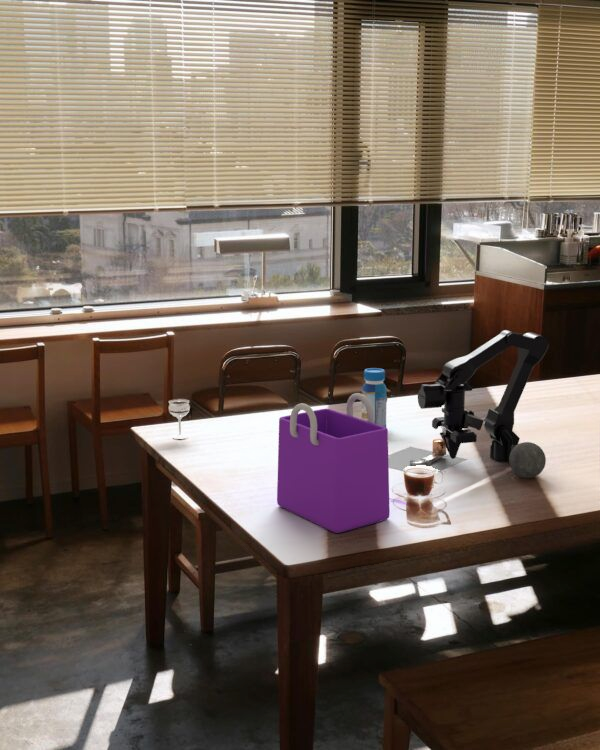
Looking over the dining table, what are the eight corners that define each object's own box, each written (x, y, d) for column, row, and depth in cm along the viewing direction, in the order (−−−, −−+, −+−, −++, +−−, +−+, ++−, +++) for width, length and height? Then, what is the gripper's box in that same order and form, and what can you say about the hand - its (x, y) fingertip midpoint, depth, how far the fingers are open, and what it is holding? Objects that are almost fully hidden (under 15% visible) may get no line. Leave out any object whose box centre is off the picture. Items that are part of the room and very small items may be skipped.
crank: (423, 469, 290) (423, 452, 289) (405, 465, 294) (405, 448, 293) (451, 457, 301) (452, 441, 300) (434, 453, 305) (434, 437, 304)
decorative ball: (518, 484, 281) (520, 449, 279) (502, 473, 290) (503, 439, 288) (551, 481, 283) (553, 446, 281) (534, 470, 293) (535, 436, 291)
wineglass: (192, 435, 330) (191, 399, 327) (188, 441, 323) (187, 404, 321) (172, 434, 331) (170, 398, 328) (167, 440, 324) (166, 403, 321)
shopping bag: (402, 514, 258) (404, 399, 252) (347, 539, 243) (347, 416, 236) (319, 490, 277) (318, 382, 270) (262, 511, 261) (260, 397, 255)
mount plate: (466, 462, 300) (466, 458, 300) (426, 480, 285) (426, 476, 284) (410, 449, 313) (410, 446, 313) (369, 466, 297) (369, 462, 297)
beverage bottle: (387, 433, 331) (388, 372, 326) (361, 433, 331) (361, 372, 327) (386, 426, 339) (386, 367, 335) (360, 426, 339) (360, 367, 335)
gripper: (494, 412, 286) (492, 465, 289) (467, 396, 303) (465, 447, 307) (457, 414, 283) (456, 468, 286) (431, 399, 300) (430, 450, 304)
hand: (452, 458), depth 296 cm, fingers closed
